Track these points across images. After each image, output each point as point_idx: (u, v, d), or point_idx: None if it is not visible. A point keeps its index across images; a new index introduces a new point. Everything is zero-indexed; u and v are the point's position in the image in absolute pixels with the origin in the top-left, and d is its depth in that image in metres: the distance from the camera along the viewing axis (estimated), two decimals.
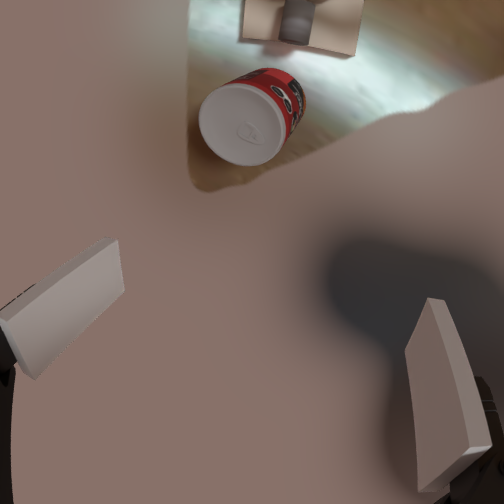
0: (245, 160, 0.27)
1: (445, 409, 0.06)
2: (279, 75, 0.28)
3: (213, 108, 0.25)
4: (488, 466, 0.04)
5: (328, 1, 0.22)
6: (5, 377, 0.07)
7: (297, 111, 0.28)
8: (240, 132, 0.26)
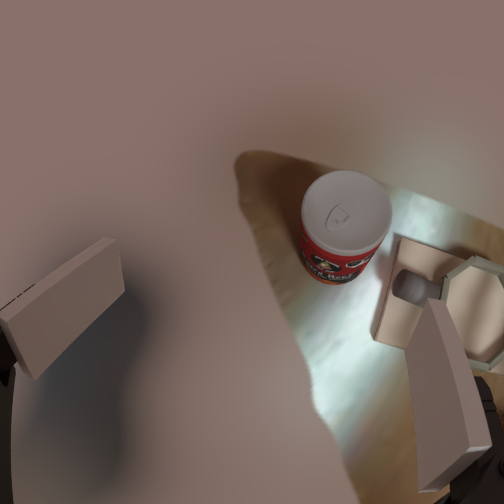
0: (308, 205, 0.25)
1: (445, 408, 0.06)
2: None
3: (368, 189, 0.25)
4: (488, 466, 0.04)
5: None
6: (5, 377, 0.07)
7: (336, 273, 0.28)
8: (340, 208, 0.25)
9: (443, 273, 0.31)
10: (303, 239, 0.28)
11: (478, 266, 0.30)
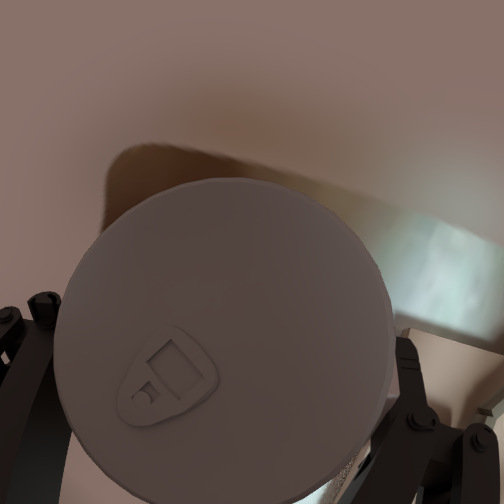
0: (73, 321, 0.06)
1: None
2: None
3: (305, 257, 0.06)
4: None
5: None
6: None
7: None
8: (174, 341, 0.06)
9: (483, 397, 0.12)
10: None
11: None
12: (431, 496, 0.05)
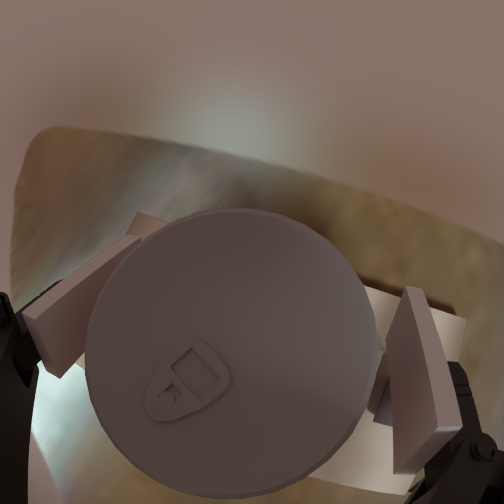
0: (102, 333, 0.08)
1: (417, 390, 0.07)
2: None
3: (304, 278, 0.08)
4: (459, 449, 0.05)
5: None
6: (28, 377, 0.08)
7: None
8: (194, 349, 0.07)
9: None
10: None
11: None
12: None
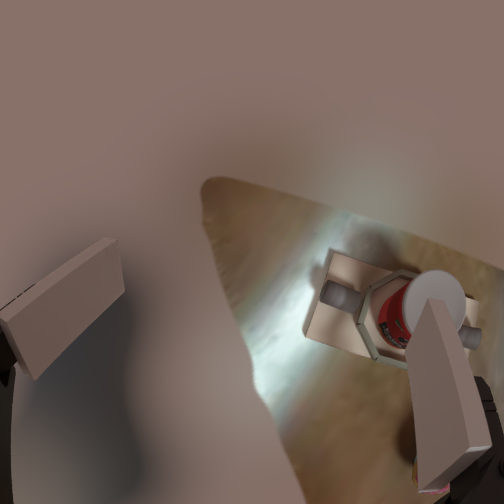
0: (409, 304, 0.28)
1: (445, 408, 0.06)
2: None
3: (450, 286, 0.28)
4: (488, 466, 0.04)
5: (354, 325, 0.38)
6: (5, 377, 0.07)
7: None
8: None
9: (370, 283, 0.40)
10: (396, 325, 0.30)
11: (405, 278, 0.39)
12: None
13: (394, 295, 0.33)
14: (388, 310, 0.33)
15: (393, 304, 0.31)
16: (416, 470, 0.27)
